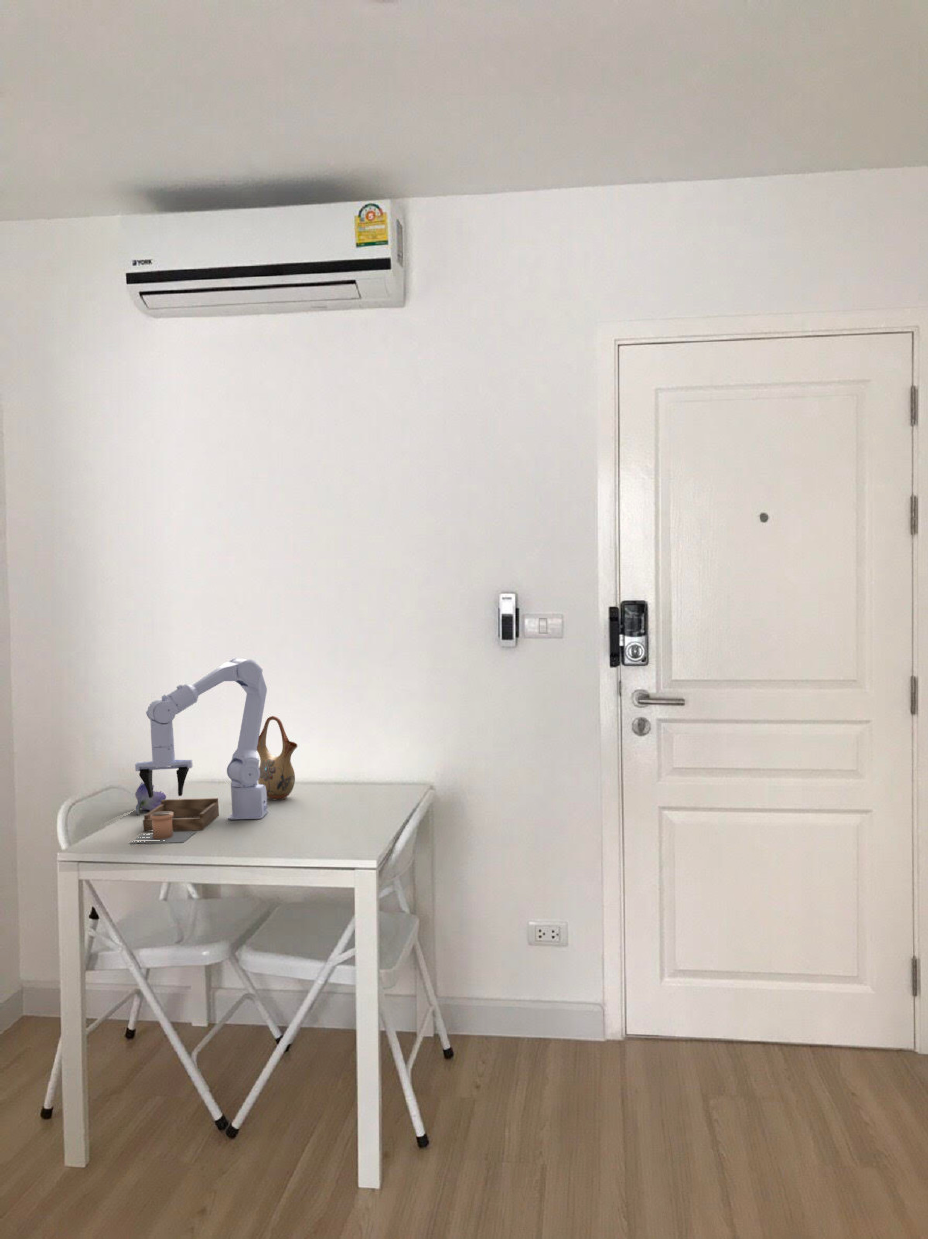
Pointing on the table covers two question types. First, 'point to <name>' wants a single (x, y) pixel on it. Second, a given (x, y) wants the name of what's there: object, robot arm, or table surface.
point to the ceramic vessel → (276, 765)
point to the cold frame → (187, 813)
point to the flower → (147, 799)
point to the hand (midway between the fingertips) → (165, 796)
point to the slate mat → (176, 838)
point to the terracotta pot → (162, 824)
